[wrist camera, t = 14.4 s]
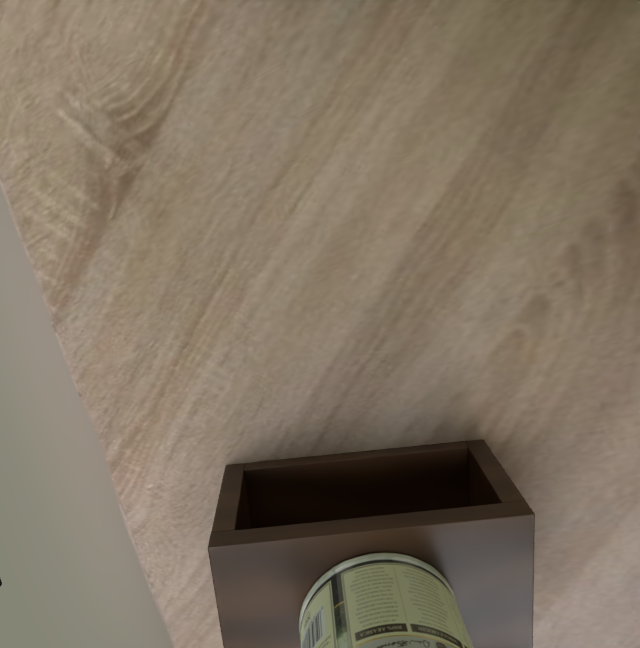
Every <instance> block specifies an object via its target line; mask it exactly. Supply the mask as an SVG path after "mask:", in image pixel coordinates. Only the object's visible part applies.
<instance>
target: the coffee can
mask: <svg viewBox="0 0 640 648" xmlns="http://www.w3.org/2000/svg"><path fill="white" fill-rule="evenodd" d="M299 633H300V639H301V648H473V645H472V642H471V640H470V637H469V635H468V632H467V629H466V627H465V624H464V622H463V619H462V617H461V614H460V611H459V608H458V604H457V600H456V597H455V594H454V592H453V590H452V588H451V586H450V585H449V583H448V582H447V581H446V579H445V578H444V577H443V576H442V575H441V574H440V573H439V572H438V571H437V570H436V569H435V568H434V567H432V566H431V565H429V564H427V563H425V562H422V561H421V560H419V559H417V558H414V557H411V556H407V555H403V554H397V553H370V554H366V555H362V556H359V557H354V558H352V559H349V560H346V561H344V562H342V563H340V564H338V565H336V566H335V567H333V568H331V569H330V570H329V571H327V572H326V573H325V574H324V575H322V576H321V577H320V578H319V579H318V580H317V581H316V583H315V584H314V585H313V587H312V588H311V590H310V591H309V592H308V594H307V596H306V598H305V600H304V602H303V605H302V609H301V612H300V618H299Z"/></svg>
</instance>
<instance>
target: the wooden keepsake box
mask: <svg viewBox="0 0 640 648" xmlns="http://www.w3.org/2000/svg"><path fill="white" fill-rule="evenodd" d="M534 521H535V514H534V512H533V511H532V510H531V508H530V507H529V505H528V504H527V502H526V501H525V500H524V498H523V497H522V495H521V494H520V492H519V491H518V489H517V488H516V486H515V485H514V484H513V482H512V481H511V479H510V478H509V476H508V475H507V473H506V472H505V470H504V469H503V468H502V466H501V465H500V463H499V462H498V460H497V459H496V457H495V456H494V454H493V453H492V452H491V450H490V449H489V447H488V446H487V444H486V443H485V441H484V440H475V441H465V442H455V443H445V444H435V445H425V446H415V447H405V448H395V449H385V450H375V451H365V452H355V453H345V454H335V455H325V456H315V457H305V458H295V459H285V460H275V461H265V462H255V463H246V464H236V465H226V467H225V471H224V476H223V480H222V485H221V490H220V494H219V499H218V504H217V508H216V513H215V518H214V522H213V527H212V532H211V536H210V540H209V545H208V552H209V558H210V564H211V571H212V577H213V583H214V589H215V596H216V602H217V608H218V614H219V621H220V627H221V633H222V640H223V646H224V648H301V639H300V633H299V618H300V612H301V609H302V605H303V602H304V600H305V598H306V596H307V594H308V592H309V591H310V590H311V588H312V587H313V585H314V584H315V583H316V581H317V580H318V579H319V578H320V577H321V576H322V575H324V574H325V573H326V572H327V571H329V570H330V569H331V568H333V567H335V566H336V565H338V564H340V563H342V562H344V561H346V560H349V559H352V558H354V557H359V556H362V555H366V554H370V553H397V554H403V555H407V556H411V557H414V558H417V559H419V560H421V561H422V562H425V563H427V564H429V565H431V566H432V567H434V568H435V569H436V570H437V571H438V572H439V573H440V574H441V575H442V576H443V577H444V578H445V579H446V581H447V582H448V583H449V585H450V586H451V588H452V590H453V592H454V594H455V597H456V600H457V604H458V608H459V611H460V614H461V617H462V619H463V622H464V624H465V627H466V629H467V632H468V635H469V637H470V640H471V642H472V645H473V648H532V647H533V584H534Z"/></svg>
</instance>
